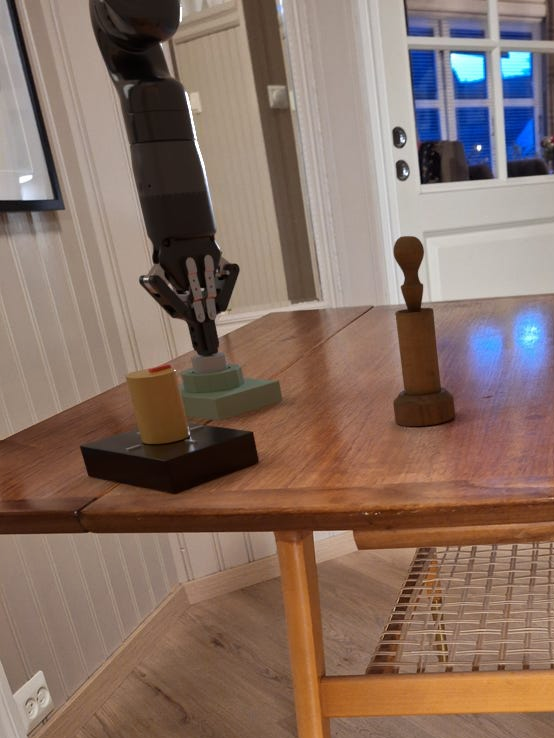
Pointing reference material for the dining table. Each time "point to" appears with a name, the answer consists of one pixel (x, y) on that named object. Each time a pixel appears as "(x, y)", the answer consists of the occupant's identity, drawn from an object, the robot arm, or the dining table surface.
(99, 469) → the panel
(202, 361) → the grey push button
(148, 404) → the lock knob
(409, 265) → the mortar and pestle
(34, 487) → the dining table surface
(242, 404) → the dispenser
